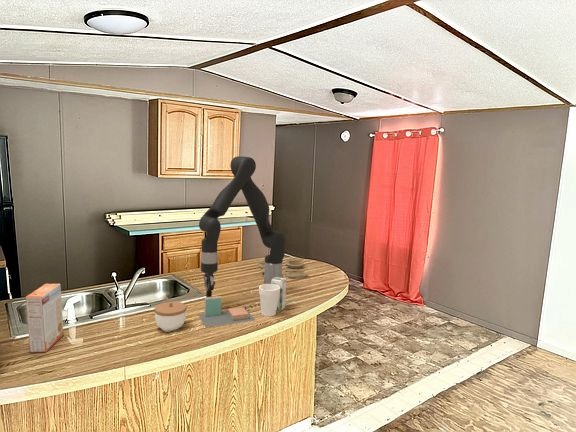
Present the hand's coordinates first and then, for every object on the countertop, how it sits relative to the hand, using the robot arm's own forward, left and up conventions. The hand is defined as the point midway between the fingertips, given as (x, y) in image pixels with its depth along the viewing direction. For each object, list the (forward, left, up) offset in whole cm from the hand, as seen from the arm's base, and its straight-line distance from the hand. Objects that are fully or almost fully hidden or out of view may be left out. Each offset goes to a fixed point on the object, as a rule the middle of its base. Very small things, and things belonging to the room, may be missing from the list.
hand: (208, 297), depth 186 cm
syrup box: (-31, +8, -6) cm, 33 cm away
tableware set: (-58, -49, -7) cm, 76 cm away
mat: (-5, +12, -6) cm, 14 cm away
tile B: (0, +7, -5) cm, 9 cm away
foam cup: (-24, +14, -6) cm, 28 cm away
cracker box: (+63, +13, -6) cm, 65 cm away
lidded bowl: (+19, +14, -6) cm, 24 cm away
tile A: (-10, +8, -4) cm, 14 cm away
